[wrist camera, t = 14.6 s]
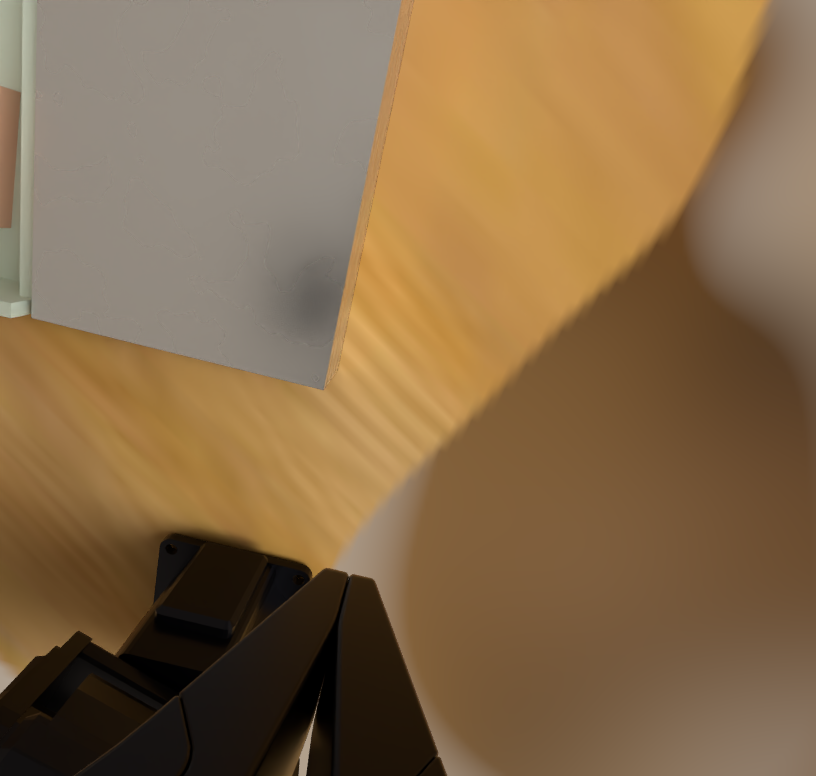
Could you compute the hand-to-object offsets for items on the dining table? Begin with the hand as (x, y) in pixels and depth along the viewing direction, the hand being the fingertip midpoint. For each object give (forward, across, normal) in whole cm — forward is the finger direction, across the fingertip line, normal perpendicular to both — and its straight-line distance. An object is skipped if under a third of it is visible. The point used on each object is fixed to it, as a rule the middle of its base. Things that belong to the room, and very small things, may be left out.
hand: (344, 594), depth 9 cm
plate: (+12, +7, -9) cm, 17 cm away
